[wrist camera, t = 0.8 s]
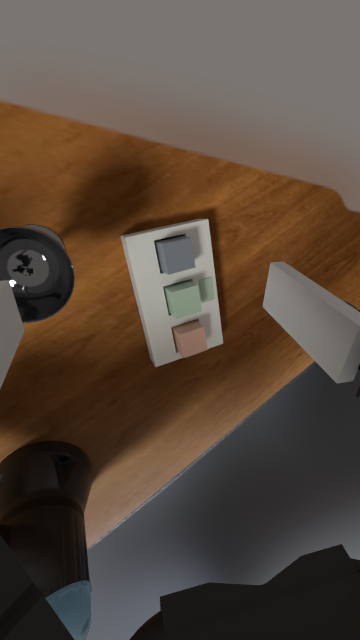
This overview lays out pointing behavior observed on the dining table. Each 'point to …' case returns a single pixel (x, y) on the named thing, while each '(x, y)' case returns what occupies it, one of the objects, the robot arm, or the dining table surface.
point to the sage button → (183, 299)
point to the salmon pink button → (190, 338)
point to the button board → (152, 281)
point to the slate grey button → (175, 254)
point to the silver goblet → (36, 270)
